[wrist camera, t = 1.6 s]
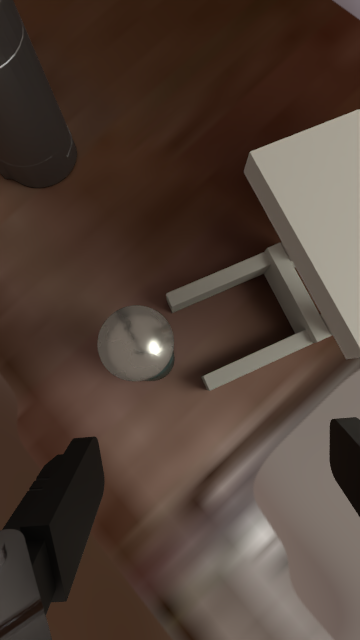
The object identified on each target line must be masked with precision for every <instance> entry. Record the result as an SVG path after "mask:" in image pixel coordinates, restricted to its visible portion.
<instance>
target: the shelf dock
mask: <svg viewBox="0 0 360 640" xmlns="http://www.w3.org/2000/svg"><path fill="white" fill-rule="evenodd" d="M244 174H245V176H246V177H247V179H248V181H249V183H250V185H251V187H252V188H253V190H254V192H255V194H256V196H257V198H258V199H259V201H260V203H261V205H262V207H263V208H264V210H265V212H266V214H267V216H268V218H269V219H270V221H271V223H272V225H273V227H274V228H275V230H276V232H277V234H278V236H279V238H280V239H281V241H282V242H281V243H278V244H276V245H273V246H271V247H268V248H267V249H266V251H265V252H263V253H261V254H258V255H256V256H254V257H251V258H249V259H247V260H244V261H242V262H240V263H237V264H235V265H232V266H230V267H228V268H225V269H223V270H221V271H218V272H216V273H214V274H211V275H209V276H206V277H204V278H202V279H199V280H197V281H195V282H192V283H190V284H188V285H185V286H183V287H181V288H178V289H176V290H173V291H171V292H169V293H166V298H167V302H168V305H169V307H170V309H171V311H172V313H174V312H176V311H178V310H181V309H183V308H185V307H188V306H190V305H192V304H195V303H197V302H199V301H202V300H204V299H206V298H209V297H211V296H213V295H215V294H218V293H220V292H222V291H225V290H227V289H229V288H232V287H234V286H236V285H239V284H241V283H243V282H246V281H248V280H250V279H253V278H255V277H257V276H260V275H262V274H264V275H265V277H266V279H267V281H268V283H269V285H270V287H271V289H272V290H273V292H274V294H275V296H276V298H277V300H278V302H279V304H280V306H281V308H282V310H283V311H284V313H285V315H286V317H287V319H288V321H289V323H290V325H291V327H292V329H293V331H294V332H295V334H294V335H292V336H289V337H287V338H285V339H283V340H281V341H278V342H276V343H274V344H272V345H270V346H267V347H265V348H263V349H261V350H259V351H256V352H254V353H252V354H250V355H248V356H245V357H243V358H241V359H239V360H237V361H234V362H232V363H230V364H228V365H226V366H223V367H221V368H219V369H217V370H215V371H212V372H210V373H208V374H206V375H204V376H201V378H202V380H203V382H204V385H205V387H206V389H207V390H209V391H210V390H213V389H215V388H217V387H219V386H221V385H223V384H226V383H228V382H230V381H232V380H234V379H236V378H239V377H241V376H243V375H245V374H247V373H250V372H252V371H254V370H256V369H258V368H260V367H263V366H265V365H267V364H269V363H271V362H273V361H276V360H278V359H280V358H282V357H284V356H286V355H289V354H291V353H293V352H295V351H297V350H299V349H302V348H304V347H306V346H308V345H310V344H312V343H315V342H318V341H321V340H323V339H325V338H327V337H329V336H331V335H333V336H334V338H335V340H336V342H337V343H338V345H339V347H340V349H341V351H342V352H343V354H344V356H345V358H346V359H351V358H358V357H360V109H359V110H356V111H353V112H351V113H348V114H346V115H343V116H341V117H338V118H335V119H333V120H330V121H328V122H325V123H323V124H320V125H317V126H315V127H312V128H310V129H307V130H305V131H302V132H299V133H297V134H294V135H292V136H289V137H287V138H284V139H281V140H279V141H276V142H274V143H271V144H269V145H266V146H263V147H261V148H258V149H256V150H253V151H251V152H250V153H249V156H248V159H247V162H246V165H245V169H244ZM295 267H296V269H297V270H298V272H299V274H300V276H301V278H302V280H303V281H304V283H305V285H306V287H307V289H308V290H309V292H310V294H311V296H312V298H313V300H314V301H315V303H316V305H317V307H318V309H319V311H320V312H321V314H319V312H318V311H317V309H316V307H315V305H314V303H313V301H312V300H311V298H310V296H309V294H308V292H307V291H306V289H305V287H304V285H303V283H302V281H301V280H300V278H299V276H298V274H297V272H296V270H295V269H294V268H295Z"/></svg>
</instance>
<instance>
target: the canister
mask: <svg viewBox="0 0 360 640" xmlns="http://www.w3.org/2000/svg"><path fill="white" fill-rule="evenodd" d="M97 346H98V353H99V356H100V359H101V361H102V363H103V365H104V366H105V367H106V369H107V370H108V371H109V372H111V373H112V374H113V375H115V376H116V377H118V378H121V379H123V380H127V381H144V380H145V381H156V380H160V379H162V378H164V377H165V376H167V375H168V374H169V372H170V371H171V369H172V367H173V365H174V350H173V349H174V338H173V333H172V330H171V327H170V325H169V323H168V322H167V320H166V319H165V318H164V317H163V316H162V315H161V314H160V313H159V312H157V311H156V310H154V309H152V308H149V307H145V306H139V305H134V306H128V307H124V308H122V309H119V310H118V311H116V312H114V313H113V314H112V315H111V316H110V317H108V319H107V320H106V321H105V322H104V324H103V325H102V327H101V330H100V332H99V336H98V344H97Z"/></svg>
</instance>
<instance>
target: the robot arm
mask: <svg viewBox="0 0 360 640" xmlns="http://www.w3.org/2000/svg"><path fill="white" fill-rule="evenodd" d="M76 157H77V151H76V146H75V144H74V141H73V139H72V136H71V133H70V131H69V129H68V127H67V125H66V122H65V120H64V117H63V115H62V113H61V110H60V108H59V106H58V103H57V101H56V99H55V96H54V94H53V92H52V90H51V87H50V85H49V83H48V80H47V78H46V76H45V73H44V71H43V69H42V66H41V64H40V62H39V59H38V57H37V55H36V52H35V50H34V48H33V45H32V43H31V41H30V38H29V36H28V34H27V31H26V29H25V27H24V24H23V22H22V20H21V18H20V15H19V13H18V11H17V8H16V6H15V4H14V1H13V0H0V173H1V175H2V176H3V177H4V178H5V179H14V180H16V181H17V182H19V183H21V184H23V185H25V186H28V187H35V188H40V187H47V186H52V185H54V184H56V183H58V182H60V181H61V180H63V179H64V178H65V177H66V176H67V175H68V174H69V173H70V172H71V170H72V169H73V167H74V165H75V162H76ZM330 466H331V470H332V473H333V476H334V478H335V480H336V481H337V483H338V484H339V486H340V488H341V489H342V490H343V492H344V494H345V495H346V497H347V498H348V500H349V501H350V503H351V504H352V506H353V507H354V509H355V510H356V512H357V513H358V515H359V516H360V420H359V419H358V418H356V417H353V418H340V419H332V420H331V422H330ZM103 491H104V472H103V466H102V461H101V455H100V449H99V443H98V440H97V438H96V437H85V438H74V439H73V440H72V441H71V443H70V444H69V446H68V447H67V449H66V451H65V452H64V454H62V455H57V456H55V457H54V458H53V459H52V460H51V461H50V462H48V463H47V464H46V465H45V466H44V467H43V469H42V470H41V472H40V473H39V475H38V476H37V479H36V481H34V482H33V484H32V486H31V487H30V490H29V491H28V492H27V493H26V495H25V496H24V498H23V499H22V501H21V502H20V504H19V505H18V507H17V508H16V510H15V511H14V513H13V514H12V516H11V517H10V519H9V520H8V522H7V523H6V525H5V526H4V528H3V529H2V530H1V531H0V640H52V638H51V634H50V630H49V627H48V623H47V619H46V613H47V611H48V608H49V606H50V603H51V602H64V601H67V598H68V595H69V593H70V590H71V586H72V584H73V581H74V578H75V575H76V572H77V569H78V566H79V563H80V560H81V557H82V554H83V552H84V549H85V546H86V543H87V540H88V537H89V534H90V531H91V528H92V525H93V522H94V519H95V516H96V513H97V510H98V508H99V505H100V502H101V499H102V496H103Z"/></svg>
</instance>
